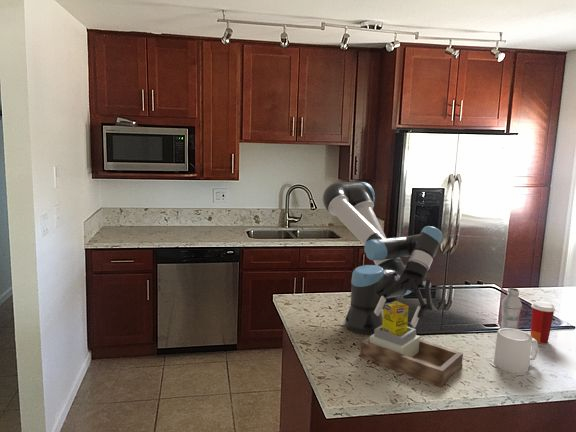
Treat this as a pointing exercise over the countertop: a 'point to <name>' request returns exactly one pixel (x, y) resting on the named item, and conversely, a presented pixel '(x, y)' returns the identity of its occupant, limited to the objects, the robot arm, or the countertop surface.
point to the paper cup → (541, 321)
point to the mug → (514, 350)
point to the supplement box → (395, 318)
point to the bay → (417, 361)
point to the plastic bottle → (511, 309)
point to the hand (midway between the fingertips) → (393, 319)
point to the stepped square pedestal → (397, 341)
